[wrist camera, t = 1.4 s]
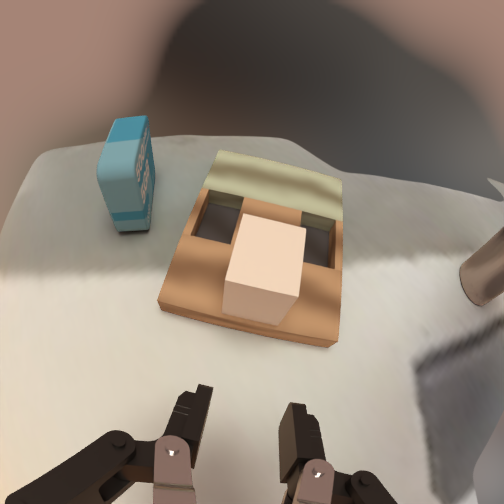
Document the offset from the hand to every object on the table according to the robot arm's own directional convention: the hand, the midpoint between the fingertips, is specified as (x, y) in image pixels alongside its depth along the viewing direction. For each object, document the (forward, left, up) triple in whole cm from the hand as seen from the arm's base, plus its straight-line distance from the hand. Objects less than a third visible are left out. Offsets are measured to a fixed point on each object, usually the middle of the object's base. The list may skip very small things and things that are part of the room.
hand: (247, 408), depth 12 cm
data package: (-6, -30, -17) cm, 35 cm away
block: (-10, -8, -14) cm, 19 cm away
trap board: (-17, -14, -17) cm, 28 cm away
